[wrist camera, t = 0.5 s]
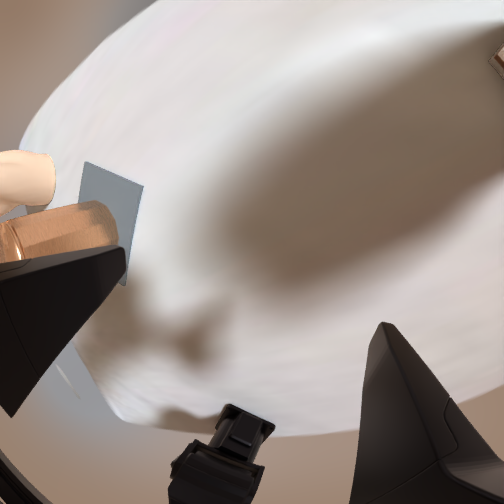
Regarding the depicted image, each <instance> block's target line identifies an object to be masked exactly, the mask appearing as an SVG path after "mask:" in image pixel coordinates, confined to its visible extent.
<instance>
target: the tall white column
mask: <svg viewBox="0 0 504 504" xmlns="http://www.w3.org/2000/svg"><path fill="white" fill-rule="evenodd" d="M488 62H489V63H490V64H491V65H492V66H493V67H494V68H495V69H496V71H497V72H498V73H499V74H500V75H501V77H502V78H503V79H504V43H503V44H502V45H501V46H500V48H499V49H498V50H497V51H496V53H495V54H494V55H493V56H492V58H491V59H490V60H489V61H488Z"/></svg>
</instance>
